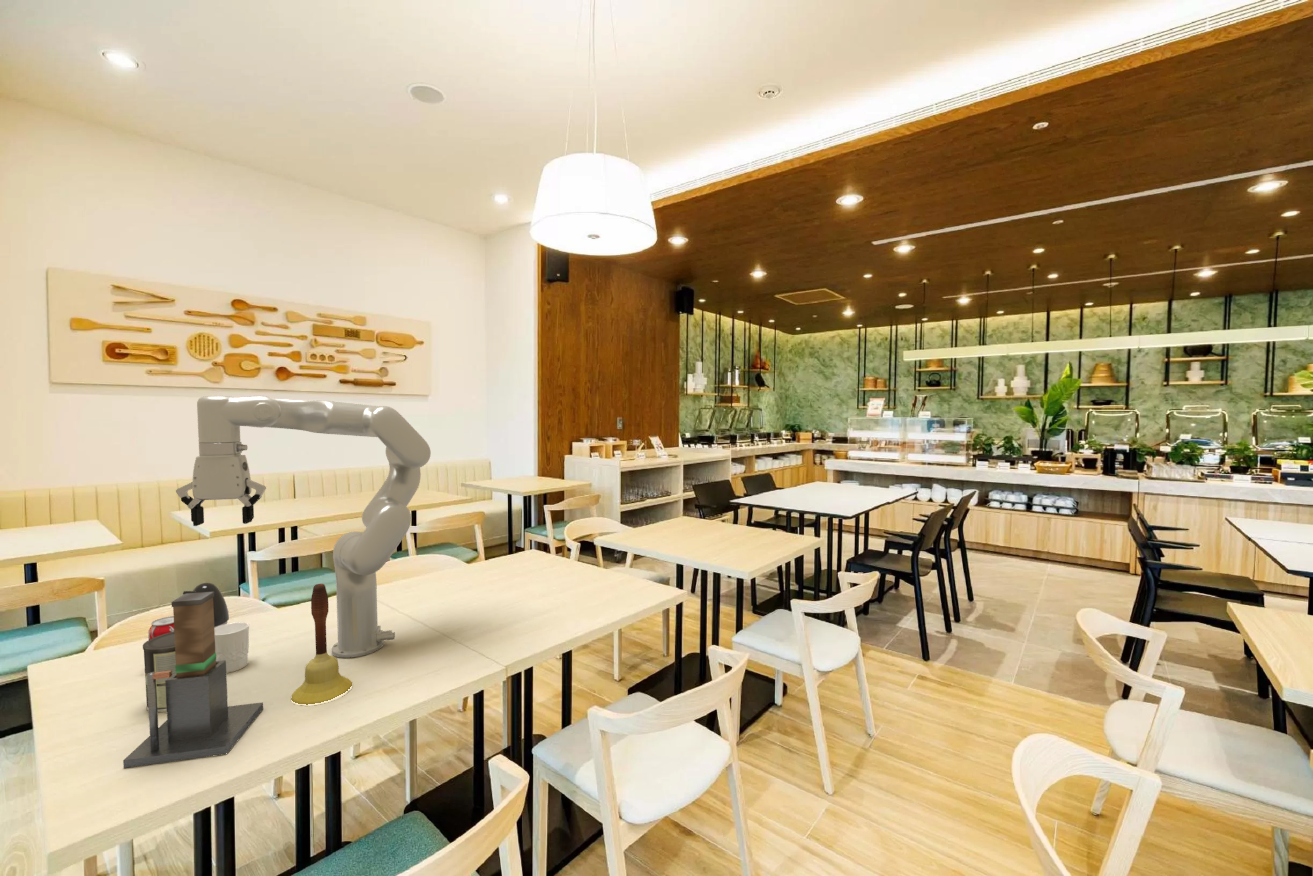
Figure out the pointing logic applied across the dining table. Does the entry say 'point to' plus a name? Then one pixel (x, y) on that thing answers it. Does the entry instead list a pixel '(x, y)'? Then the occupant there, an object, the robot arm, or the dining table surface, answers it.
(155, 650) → the coffee can
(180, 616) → the walnut post
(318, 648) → the handbell
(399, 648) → the dining table surface
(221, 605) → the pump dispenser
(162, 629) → the soda can
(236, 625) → the white cup
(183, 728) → the steel stand
